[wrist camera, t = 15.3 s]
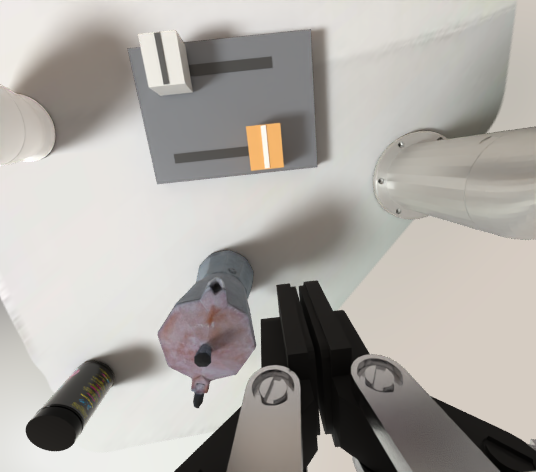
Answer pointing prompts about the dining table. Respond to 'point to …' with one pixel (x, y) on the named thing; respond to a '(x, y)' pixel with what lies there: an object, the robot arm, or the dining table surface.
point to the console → (231, 106)
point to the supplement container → (70, 407)
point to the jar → (23, 129)
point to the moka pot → (211, 323)
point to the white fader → (165, 62)
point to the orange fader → (265, 146)
